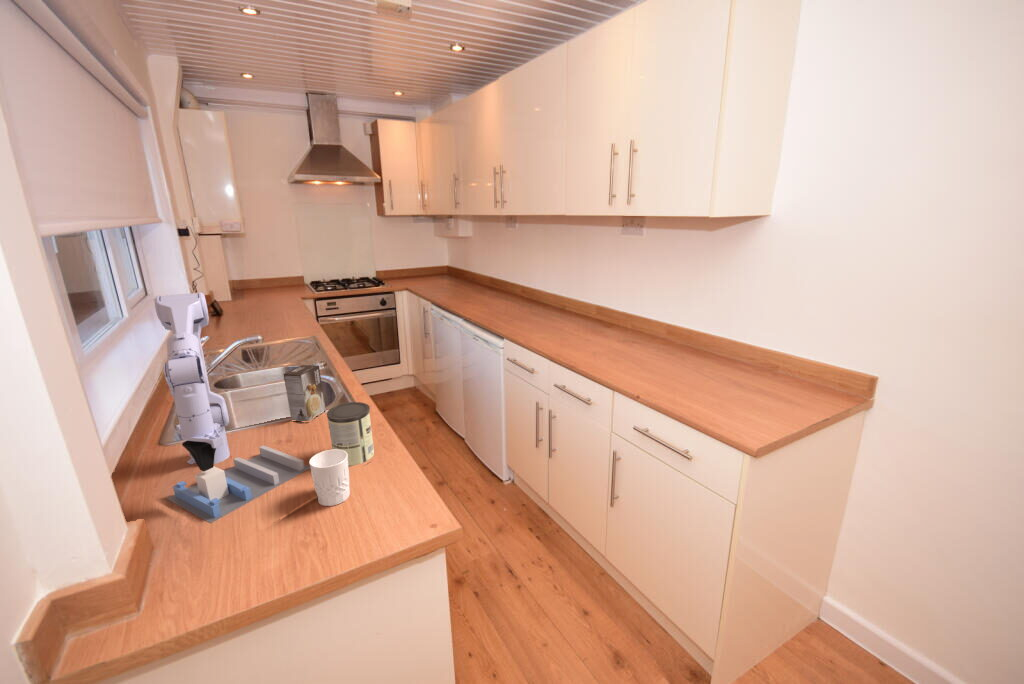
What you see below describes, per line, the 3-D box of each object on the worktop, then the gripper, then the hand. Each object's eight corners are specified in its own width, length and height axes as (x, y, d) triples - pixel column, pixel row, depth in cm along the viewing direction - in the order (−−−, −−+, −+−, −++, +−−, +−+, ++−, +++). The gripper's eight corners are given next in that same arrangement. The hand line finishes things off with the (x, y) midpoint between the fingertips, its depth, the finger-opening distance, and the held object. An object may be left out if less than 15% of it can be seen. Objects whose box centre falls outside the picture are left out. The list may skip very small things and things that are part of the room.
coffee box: (309, 410, 148) (302, 364, 144) (326, 411, 147) (320, 365, 142) (290, 421, 139) (282, 373, 135) (308, 423, 138) (301, 374, 134)
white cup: (343, 483, 106) (338, 445, 103) (358, 497, 101) (353, 457, 98) (309, 497, 101) (303, 458, 98) (323, 513, 95) (317, 471, 93)
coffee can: (334, 453, 120) (327, 405, 116) (374, 446, 123) (369, 399, 119) (332, 473, 110) (325, 421, 107) (375, 465, 114) (369, 414, 110)
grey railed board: (167, 502, 100) (163, 486, 99) (268, 453, 120) (265, 440, 119) (211, 527, 91) (207, 510, 90) (312, 470, 112) (310, 456, 110)
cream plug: (200, 498, 99) (195, 474, 98) (219, 489, 103) (214, 466, 101) (210, 503, 97) (205, 479, 96) (229, 494, 101) (224, 470, 99)
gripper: (233, 411, 94) (244, 468, 98) (196, 399, 101) (208, 452, 105) (197, 424, 88) (210, 484, 92) (160, 410, 95) (174, 467, 99)
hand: (207, 468), depth 98 cm, fingers closed
